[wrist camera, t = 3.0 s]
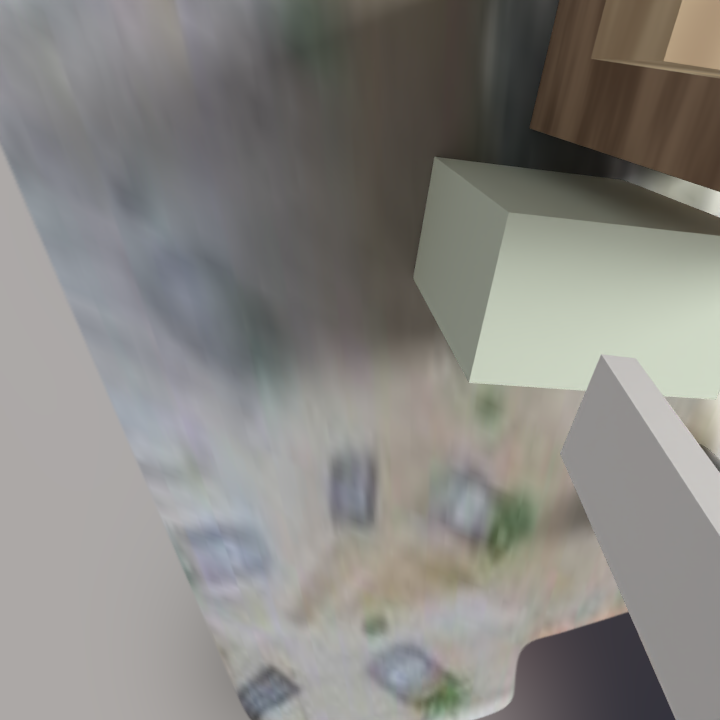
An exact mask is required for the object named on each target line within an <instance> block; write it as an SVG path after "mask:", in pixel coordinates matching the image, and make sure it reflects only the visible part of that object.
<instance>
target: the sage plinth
mask: <svg viewBox="0 0 720 720" xmlns="http://www.w3.org/2000/svg"><path fill="white" fill-rule="evenodd" d="M413 279H414V281H415V283H416V285H417V287H418V288H419V290H420V292H421V294H422V296H423V298H424V300H425V302H426V303H427V305H428V307H429V309H430V311H431V313H432V315H433V316H434V318H435V320H436V322H437V324H438V326H439V328H440V330H441V331H442V333H443V335H444V337H445V339H446V341H447V343H448V344H449V346H450V348H451V350H452V352H453V354H454V356H455V358H456V359H457V361H458V363H459V365H460V367H461V369H462V371H463V372H464V374H465V376H466V378H467V380H468V382H469V383H481V384H496V385H510V386H525V387H540V388H554V389H569V390H583V391H586V390H587V387H588V385H589V383H590V380H591V378H592V375H593V373H594V370H595V368H596V366H597V363H598V361H599V358H600V356H601V354H603V355H612V356H620V357H629V358H636V359H637V361H638V362H639V363H640V365H641V366H642V368H643V369H644V370H645V372H646V373H647V374H648V376H649V377H650V378H651V380H652V381H653V382H654V384H655V385H656V387H657V388H658V389H659V391H660V392H661V393H662V395H663V396H671V397H685V398H700V399H714V400H716V398H717V396H718V394H719V392H720V218H719V217H716V216H714V215H711V214H709V213H706V212H704V211H701V210H699V209H696V208H694V207H691V206H689V205H686V204H683V203H681V202H678V201H676V200H673V199H671V198H668V197H666V196H663V195H661V194H658V193H655V192H653V191H650V190H648V189H645V188H643V187H640V186H638V185H635V184H633V183H630V182H628V181H625V180H619V179H611V178H603V177H595V176H587V175H578V174H570V173H562V172H554V171H546V170H538V169H530V168H522V167H514V166H505V165H497V164H489V163H481V162H473V161H465V160H457V159H449V158H441V157H434V162H433V168H432V174H431V179H430V185H429V191H428V196H427V202H426V208H425V214H424V219H423V225H422V231H421V236H420V242H419V248H418V254H417V259H416V265H415V271H414V276H413Z"/></svg>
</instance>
